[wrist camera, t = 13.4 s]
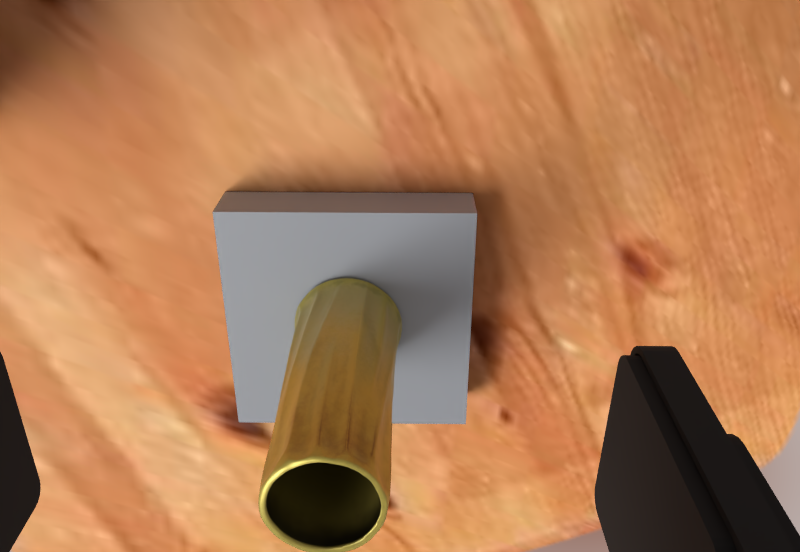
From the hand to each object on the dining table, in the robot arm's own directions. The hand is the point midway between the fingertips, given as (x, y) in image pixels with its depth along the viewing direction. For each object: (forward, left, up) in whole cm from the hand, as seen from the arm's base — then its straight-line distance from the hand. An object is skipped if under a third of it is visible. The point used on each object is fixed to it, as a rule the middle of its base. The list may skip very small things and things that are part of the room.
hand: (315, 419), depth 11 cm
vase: (+15, -2, -27) cm, 31 cm away
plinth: (+15, -2, -30) cm, 33 cm away
